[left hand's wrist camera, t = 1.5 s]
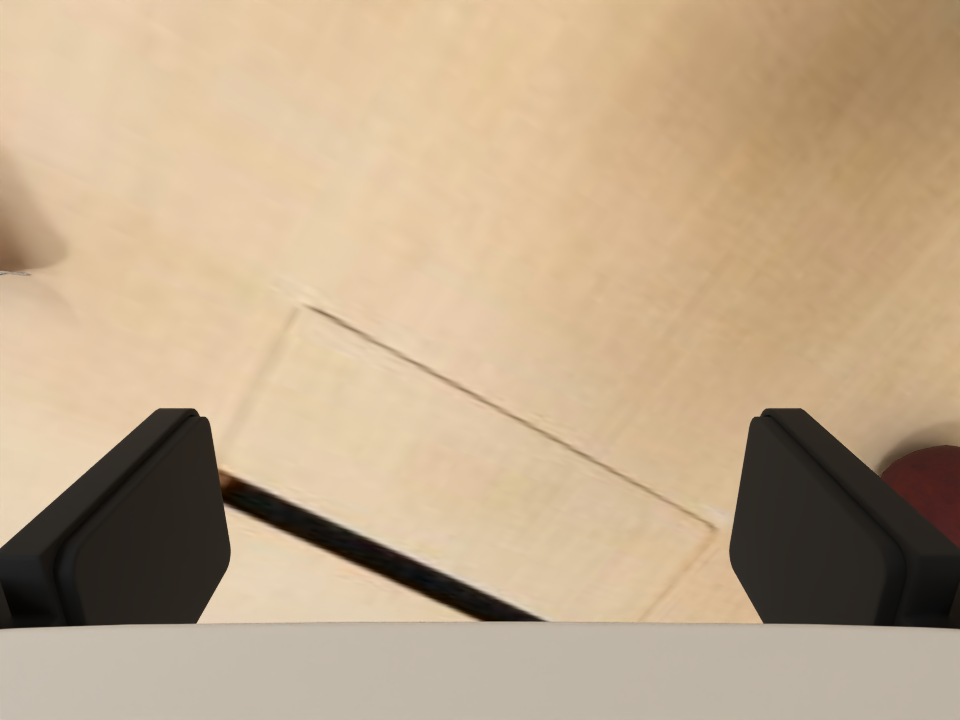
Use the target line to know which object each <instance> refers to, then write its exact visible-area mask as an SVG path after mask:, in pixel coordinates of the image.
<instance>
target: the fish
mask: <svg viewBox="0 0 960 720" xmlns="http://www.w3.org/2000/svg"><path fill="white" fill-rule="evenodd" d="M2 274H15V275H24V276H25V275H30V274H27V273H23V272H9V271H0V275H2Z"/></svg>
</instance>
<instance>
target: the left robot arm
mask: <svg viewBox="0 0 960 720" xmlns="http://www.w3.org/2000/svg"><path fill="white" fill-rule="evenodd" d="M230 554H231V549H230V541H229V535H228V529H227V523H226V517H225V511H224V505H223V499H222V493H221V487H220V481H219V475H218V469H217V463H216V457H215V451H214V445H213V439H212V433H211V427H210V423H209V421H208V419H207V418H206V417H200V416H199V414H198V412H197V411H196V410H195V409H192V408H159V409H157V410H156V411H155V412H153V413H152V414H151V415H150V416H149V417H148V418H147V419H146V420H144V421H143V422H142V423H141V424H140V425H139V426H138V427H136V428H135V429H134V430H133V431H132V432H131V433H130V434H129V435H127V436H126V437H125V438H124V439H123V440H122V441H121V442H120V443H118V444H117V445H116V446H115V447H114V448H113V449H112V450H111V451H109V452H108V453H107V454H106V455H105V456H104V457H103V458H102V459H100V460H99V461H98V462H97V463H96V464H95V465H94V466H93V467H91V468H90V469H89V470H88V471H87V472H86V473H85V474H84V475H82V476H81V477H80V478H79V479H78V480H77V481H76V482H75V483H73V484H72V485H71V486H70V487H69V488H68V489H67V490H66V491H64V492H63V493H62V494H61V495H60V496H59V497H58V498H57V499H55V500H54V501H53V502H52V503H51V504H50V505H49V506H48V507H46V508H45V509H44V510H43V511H42V512H41V513H40V514H39V515H37V516H36V517H35V518H34V519H33V520H32V521H31V522H30V523H28V524H27V525H26V526H25V527H24V528H23V529H22V530H21V531H19V532H18V533H17V534H16V535H15V536H14V537H13V538H12V539H10V540H9V541H8V542H7V543H6V544H5V545H4V546H3V547H1V548H0V720H960V548H959V547H957V546H956V545H955V544H954V543H953V542H952V541H951V540H950V539H948V538H947V537H946V536H945V535H944V534H943V533H942V532H941V531H939V530H938V529H937V528H936V527H935V526H934V525H933V524H932V523H930V522H929V521H928V520H927V519H926V518H925V517H924V516H923V515H921V514H920V513H919V512H918V511H917V510H916V509H915V508H914V507H912V506H911V505H910V504H909V503H908V502H907V501H906V500H905V499H903V498H902V497H901V496H900V495H899V494H898V493H897V492H896V491H894V490H893V489H892V488H891V487H890V486H889V485H888V484H887V483H885V482H884V481H883V480H882V479H881V478H880V477H879V476H878V475H876V474H875V473H874V472H873V471H872V470H871V469H870V468H869V467H867V466H866V465H865V464H864V463H863V462H862V461H861V460H860V459H858V458H857V457H856V456H855V455H854V454H853V453H852V452H851V451H849V450H848V449H847V448H846V447H845V446H844V445H843V444H842V443H840V442H839V441H838V440H837V439H836V438H835V437H834V436H833V435H831V434H830V433H829V432H828V431H827V430H826V429H825V428H824V427H822V426H821V425H820V424H819V423H818V422H817V421H816V420H814V419H813V418H812V417H811V416H810V415H809V414H808V413H807V412H805V411H804V410H803V409H801V408H768V409H765V410H764V411H763V412H762V414H761V416H760V417H754V418H753V419H752V421H751V423H750V427H749V433H748V439H747V445H746V451H745V457H744V463H743V469H742V475H741V481H740V487H739V493H738V499H737V505H736V511H735V517H734V523H733V529H732V535H731V541H730V549H729V554H730V562H731V565H732V568H733V570H734V572H735V574H736V576H737V577H738V579H739V581H740V583H741V584H742V586H743V588H744V590H745V591H746V593H747V595H748V597H749V599H750V600H751V602H752V604H753V606H754V607H755V609H756V611H757V613H758V614H759V616H760V618H761V620H762V621H763V623H764V624H734V623H621V622H319V623H230V624H196V623H197V621H198V620H199V618H200V616H201V614H202V613H203V611H204V609H205V607H206V606H207V604H208V602H209V600H210V599H211V597H212V595H213V593H214V591H215V590H216V588H217V586H218V584H219V583H220V581H221V579H222V577H223V576H224V574H225V572H226V570H227V568H228V565H229V562H230Z"/></svg>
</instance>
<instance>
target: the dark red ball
mask: <svg viewBox="0 0 960 720" xmlns="http://www.w3.org/2000/svg"><path fill="white" fill-rule="evenodd" d="M881 479H882V480H883V481H884V482H885V483H887V484H888V485H889V486H890V487H891V488H892V489H893V490H894V491H896V492H897V493H898V494H899V495H900V496H901V497H902V498H903V499H905V500H906V501H907V502H908V503H909V504H910V505H911V506H912V507H914V508H915V509H916V510H917V511H918V512H919V513H920V514H921V515H923V516H924V517H925V518H926V519H927V520H928V521H929V522H930V523H932V524H933V525H934V526H935V527H936V528H937V529H938V530H939V531H941V532H942V533H943V534H944V535H945V536H946V537H947V538H948V539H950V540H951V541H952V542H953V543H954V544H955V545H956V546H957V547H959V548H960V447H957V446H949V445H944V446H936V447H931V448H927V449H923V450H918V451H915V452H913V453H911V454H909V455H907V456H905V457H903V458H901V459H899V460H897V461H895V462H894V463H893V464H892V465H891V466H889V467H888V468H887V469H886V470H885V471H884V473H883V474H882V476H881Z"/></svg>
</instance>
